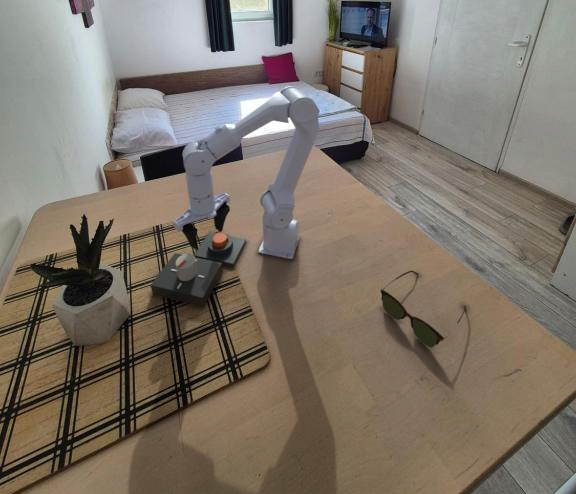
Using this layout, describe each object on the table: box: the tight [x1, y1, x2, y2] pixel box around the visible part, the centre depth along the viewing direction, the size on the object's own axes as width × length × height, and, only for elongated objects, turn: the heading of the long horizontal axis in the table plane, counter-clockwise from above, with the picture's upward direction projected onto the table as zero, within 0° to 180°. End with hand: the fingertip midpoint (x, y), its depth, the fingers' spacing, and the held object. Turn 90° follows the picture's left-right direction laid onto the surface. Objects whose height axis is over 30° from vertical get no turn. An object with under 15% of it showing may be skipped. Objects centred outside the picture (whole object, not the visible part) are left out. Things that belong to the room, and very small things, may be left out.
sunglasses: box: [380, 270, 467, 348], centre depth 72 cm, size 14×15×5 cm
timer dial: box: [176, 253, 197, 281], centre depth 76 cm, size 4×4×4 cm
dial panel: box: [150, 252, 224, 308], centre depth 77 cm, size 13×10×3 cm
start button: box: [213, 232, 227, 248], centre depth 86 cm, size 4×4×2 cm
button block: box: [193, 231, 247, 268], centre depth 87 cm, size 11×9×3 cm
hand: (206, 237), depth 81 cm, fingers open, 7 cm apart
